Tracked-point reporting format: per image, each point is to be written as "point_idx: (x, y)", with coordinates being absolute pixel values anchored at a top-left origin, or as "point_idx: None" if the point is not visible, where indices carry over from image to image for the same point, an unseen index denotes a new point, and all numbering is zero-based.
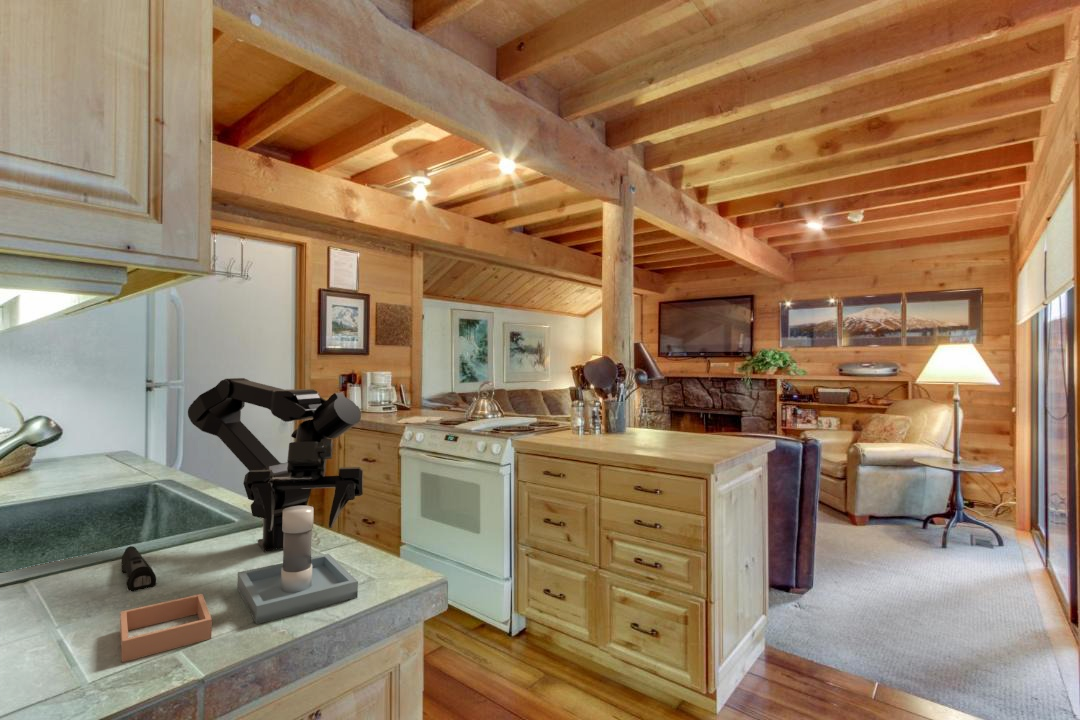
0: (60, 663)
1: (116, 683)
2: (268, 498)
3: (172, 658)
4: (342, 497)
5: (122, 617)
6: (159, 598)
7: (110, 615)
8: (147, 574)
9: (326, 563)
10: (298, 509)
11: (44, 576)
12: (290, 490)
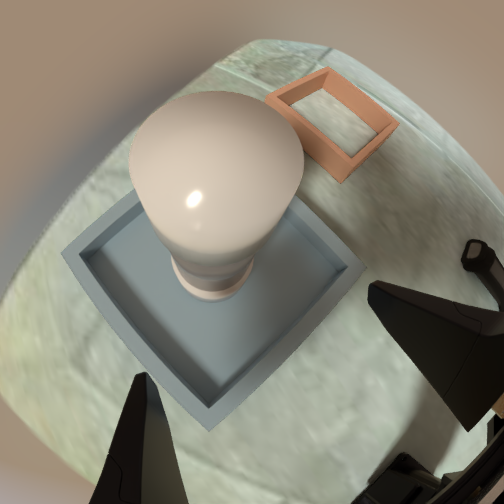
0: (373, 90)
1: (291, 60)
2: (484, 326)
3: (274, 84)
4: (92, 496)
5: (383, 109)
6: (427, 223)
7: (431, 175)
8: (479, 254)
9: (195, 392)
10: (214, 146)
11: None
12: None
